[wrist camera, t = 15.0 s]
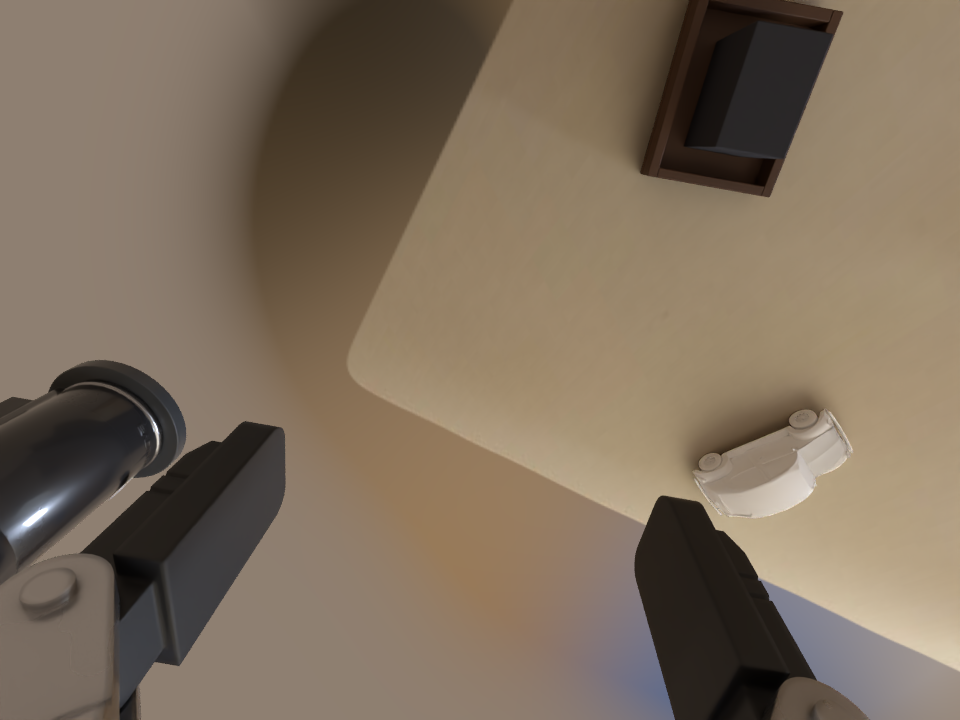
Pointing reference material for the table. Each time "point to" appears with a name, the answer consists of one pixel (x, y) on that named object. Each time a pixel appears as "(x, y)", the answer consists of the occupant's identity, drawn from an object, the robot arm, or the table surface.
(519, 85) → the table surface
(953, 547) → the table surface
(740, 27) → the tray
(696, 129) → the black rectangular block
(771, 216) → the table surface
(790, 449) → the car
